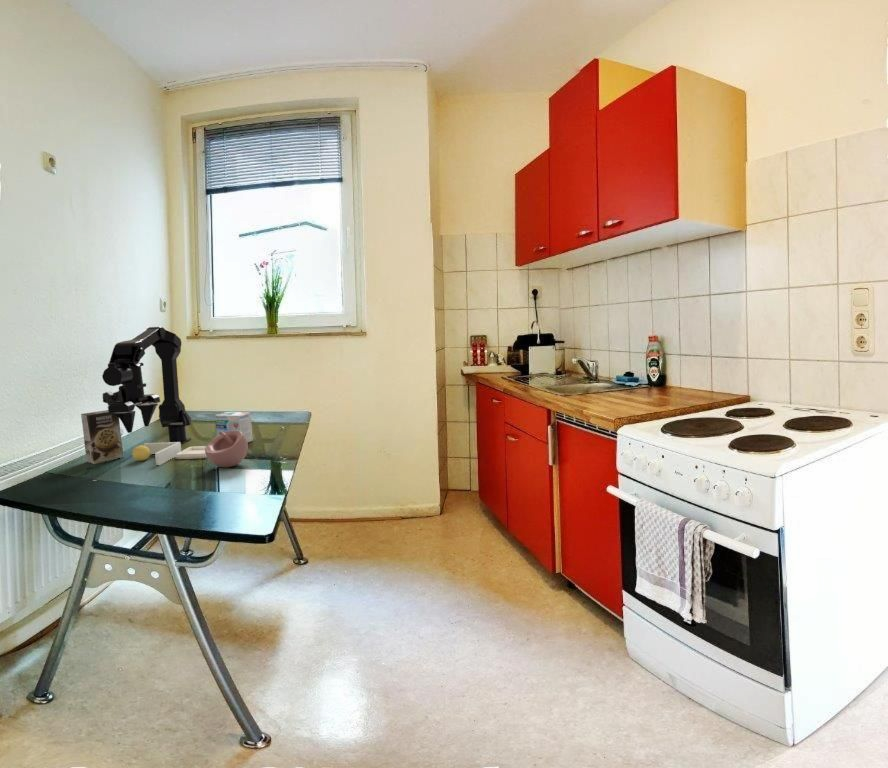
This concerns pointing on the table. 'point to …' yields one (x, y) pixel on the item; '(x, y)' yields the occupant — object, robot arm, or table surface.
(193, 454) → the tray
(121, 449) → the brown upright rectangular box
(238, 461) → the pink slanted bowl
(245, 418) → the light bulb box
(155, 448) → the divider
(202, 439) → the table surface
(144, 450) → the ball
